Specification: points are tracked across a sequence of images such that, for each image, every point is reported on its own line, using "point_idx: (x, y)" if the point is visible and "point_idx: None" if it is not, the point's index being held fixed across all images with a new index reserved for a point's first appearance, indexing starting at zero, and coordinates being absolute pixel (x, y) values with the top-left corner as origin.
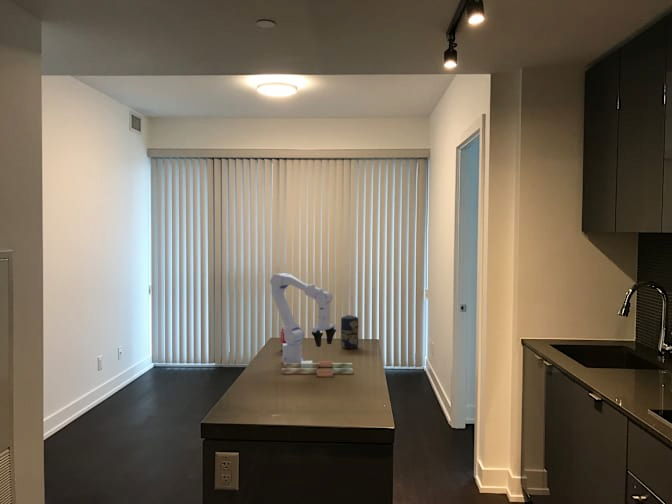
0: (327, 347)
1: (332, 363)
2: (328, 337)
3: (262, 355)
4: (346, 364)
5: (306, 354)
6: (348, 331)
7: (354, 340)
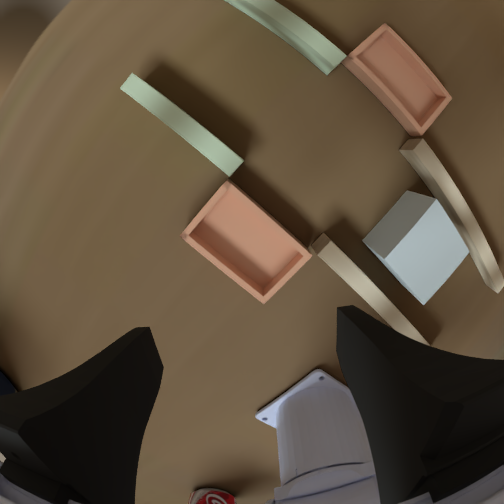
0: None
1: (219, 195)
2: (132, 409)
3: None
4: (163, 96)
5: (185, 445)
6: None
7: None
